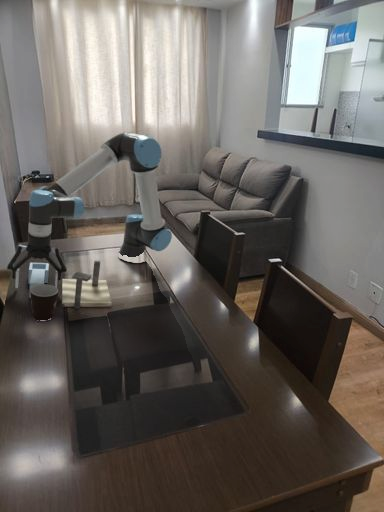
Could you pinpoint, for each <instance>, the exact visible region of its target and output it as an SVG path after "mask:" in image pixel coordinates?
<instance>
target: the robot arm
mask: <svg viewBox="0 0 384 512" xmlns="http://www.w3.org/2000/svg"><path fill="white" fill-rule="evenodd" d="M162 156H163V155H162V148H161V146H160V143H159V142H158V140H156V139H154V138H153V137H150V136H148V135H144V134H143V135H142V134H138V133H134V132H131V131H130V132H128V131H125V132H122V133H118V134H117V135H115V136H113V137H112V138H110V139H108V140H107V141H105V142H104V143H102V144H101V145H100V149H99V150H97V151H96V152H94V153H93V154H91V156H89V157H88V158H87V159H85V160H84V161H82V162H81V163H80V164H78V165H76V166H75V167H74V168H72V170H70V171H69V172H68V173H67V172H66V174H65V175H63V176H62V177H60V178H59V179H58V180H57V181H55V182H54V183H52V184H51V185H50V186H47V185H44V186H41V187H39V188H38V189H34V190H32V191H31V192H30V196H29V201H28V205H29V207H28V209H29V211H28V213H29V214H28V216H29V217H28V229H27V230H28V234H27V245H23V244H22V243H19V244H18V246H17V250H16V251H15V253H14V255H13V256H12V258H11V259H10V261H9V263H8V264H7V267H6V269H7V270H11V271H12V280H13V279H14V280H15V283H14V284H15V285H14V286H15V289H18V287H19V277H20V268H21V267H22V266H23V265H24V264H25V263H26V262H28V260H30V259H31V258H32V259H40V260H43V259H45V260H46V261H47V263H49V265H51V266H52V267H53V269H55V281H54V286H55V287H57V288H58V281H61V280H62V273H67V265H66V264H65V262H64V259H63V257H62V255H61V254H60V247H59V246H55V247H51V237H52V236H51V233H52V222H53V219H55V218H56V219H59V218H60V219H61V218H62V219H63V218H78V217H81V216H83V214H84V212H85V204H84V200H83V199H82V198H81V197H79V196H73V195H74V194H75V193H76V192H78V191H79V190H80V189H82V188H83V187H84V186H85V185H87V184H88V183H90V181H92V180H93V179H95V178H96V177H97V176H98V175H100V174H101V173H102V172H104V171H105V170H107V168H109V167H110V166H111V165H117V164H118V163H119V162H122V161H126V162H127V161H128V163H129V168H130V171H131V172H132V173H134V176H135V181H136V187H137V193H138V199H139V204H140V211H141V214H136V213H135V214H128V215H127V216H126V220H125V224H124V234H123V242H122V244H121V247H120V249H119V250H120V251H118V253H120V254H121V255H122V256H123V255H127V256H128V257H136V256H139V255H140V254H142V253H143V252H144V250H145V249H147V248H149V249H150V250H153V251H156V252H162V251H164V250H166V248H168V246H169V245H170V243H171V242H172V238H173V237H172V236H173V233H172V232H171V230H170V229H168V228H167V225H166V221H165V219H164V218H163V217H162V213H161V205H160V198H159V193H158V185H157V176H156V170H157V169H158V165H159V163H160V162H161V160H160V159H162ZM24 251H26V252H27V253H26V254H25V256H23V257H22V258H21V259H20V260H19V261H18V262H17V263H16V261H17V259H18V258H19V257H20V255H21V253H22V252H24ZM51 252H52V253H53V254H55V257H56V259H57V261H58V263H59V264H58V263H57V262H56V261H55V260H54V258H52V256H51V255H50V253H51ZM15 263H16V264H15Z"/></svg>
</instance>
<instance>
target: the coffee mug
mask: <svg viewBox="0 0 384 512" xmlns="http://www.w3.org/2000/svg"><path fill="white" fill-rule="evenodd" d="M29 295H31V298H30V302H31V303H30V304H31V315H32V319H33V318H34V319H35V320H34V319H33V320H34V321H36V320H39V321H40V320H48V319H50V318H52V317H53V318H54V315H55V314H54V313H55V310H56V305H57V300H58V295H59V289H58V286H57V287H55V285H51V284H43V285H36V286H34V287H32V288H31V289H30V288H29ZM53 318H52V319H53ZM39 321H38V322H39Z"/></svg>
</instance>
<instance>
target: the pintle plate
mask: <svg viewBox="0 0 384 512" xmlns="http://www.w3.org/2000/svg"><path fill="white" fill-rule="evenodd" d="M100 268H101V260H98V259H95V260H94V261H93V271H92V274H89V273H83V272H80V271H76V272H75V273H74V274H73V275H72V276H71V278H61V280H62V281H61V285H62V286H61V287H62V288H61V305H62V304H64V305H65V306H64V307H73V308H74V309H75V310H78V309H80V308H81V307H87V308H88V307H89V308H90V307H93V308H94V307H98V308H99V307H102V308H103V307H104V308H105V307H106V308H108V307H109V308H110V307H112V304H113V303H112V299H111V295H110V292H109V285H108V283H107V280H106V279H105V280H104V279H100V270H101V269H100Z"/></svg>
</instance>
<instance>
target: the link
mask: <svg viewBox="0 0 384 512" xmlns="http://www.w3.org/2000/svg"><path fill="white" fill-rule="evenodd" d="M49 269H50V263H49V262H29V268H28V280H27V281H28V284H29V290H30V289H31V288H32V287H34V286H36V285H43V284H44V283H49ZM28 296H29V297H28V298H29V299H31V295H30V294H29V295H28Z"/></svg>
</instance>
